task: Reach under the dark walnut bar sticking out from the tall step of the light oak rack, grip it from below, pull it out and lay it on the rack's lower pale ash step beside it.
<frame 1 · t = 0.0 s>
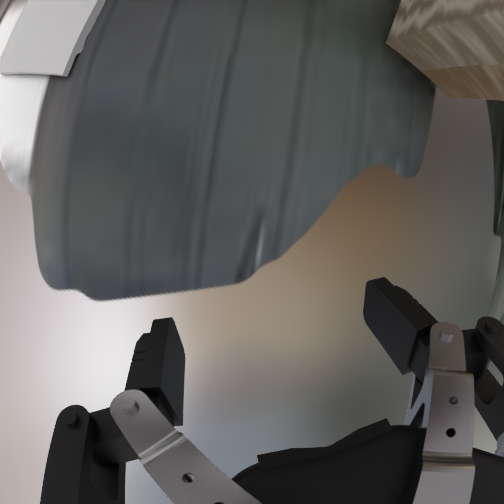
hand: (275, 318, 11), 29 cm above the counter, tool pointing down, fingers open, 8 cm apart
food packaging: (61, 18, 23), on the counter
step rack: (430, 40, 31), on the counter
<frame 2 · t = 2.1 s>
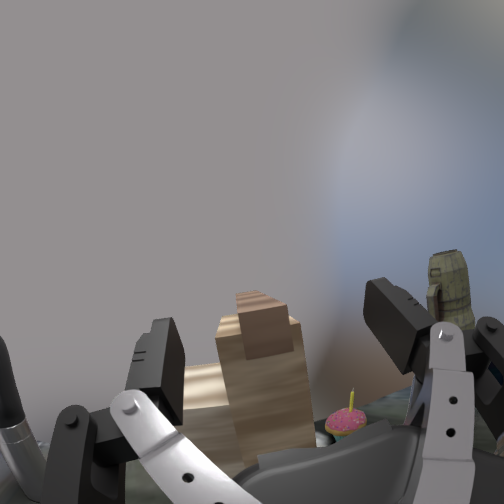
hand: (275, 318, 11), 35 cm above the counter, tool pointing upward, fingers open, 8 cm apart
walnut bar: (255, 325, 29), point 32 cm above the counter, touching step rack
cupcake: (347, 439, 46), on the counter
thermos: (447, 428, 36), on the counter
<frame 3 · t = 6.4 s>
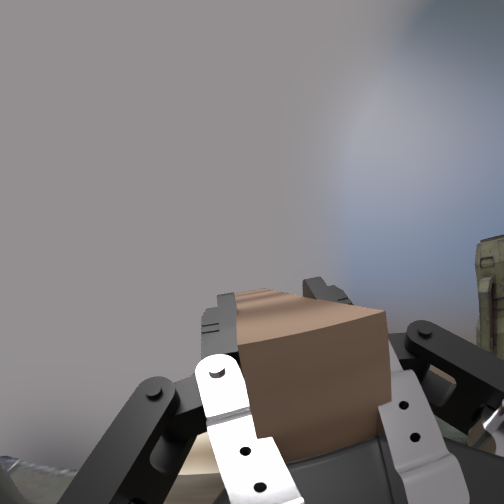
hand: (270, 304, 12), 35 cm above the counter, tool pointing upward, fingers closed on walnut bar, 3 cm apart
walnut bar: (268, 344, 17), point 32 cm above the counter, touching gripper, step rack
thermos: (486, 447, 24), on the counter
when the fingers open (30 cm above the counter, at t = 14.9 s): walnut bar drops 2 cm, resting on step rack.
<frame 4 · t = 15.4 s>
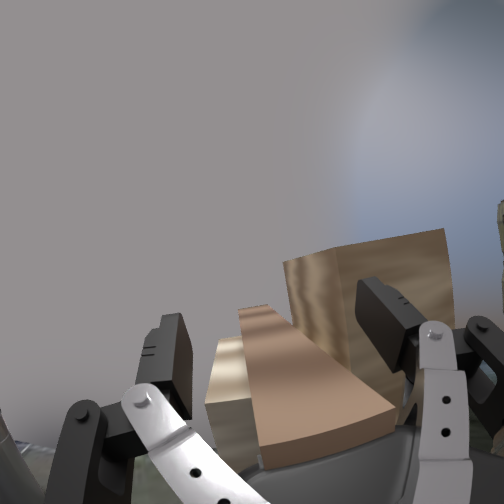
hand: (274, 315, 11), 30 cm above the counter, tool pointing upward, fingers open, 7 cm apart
walnut bar: (273, 373, 16), point 25 cm above the counter, touching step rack
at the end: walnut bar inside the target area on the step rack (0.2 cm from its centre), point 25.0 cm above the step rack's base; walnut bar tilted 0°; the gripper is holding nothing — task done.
